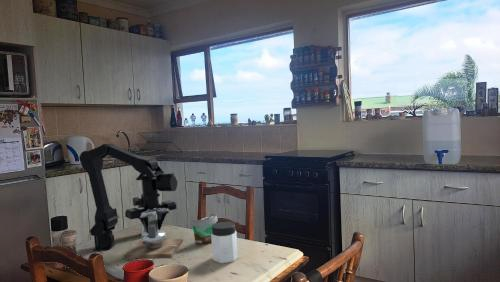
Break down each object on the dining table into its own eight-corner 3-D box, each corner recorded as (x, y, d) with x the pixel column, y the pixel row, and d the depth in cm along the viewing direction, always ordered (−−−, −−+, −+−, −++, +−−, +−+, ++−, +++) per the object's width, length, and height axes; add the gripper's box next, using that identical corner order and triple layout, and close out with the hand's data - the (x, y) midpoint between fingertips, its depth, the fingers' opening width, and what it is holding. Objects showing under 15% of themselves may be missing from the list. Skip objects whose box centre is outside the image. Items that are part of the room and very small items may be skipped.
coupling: (164, 243, 136) (163, 225, 136) (140, 246, 135) (138, 227, 135) (167, 235, 147) (166, 217, 146) (144, 237, 146) (142, 220, 145)
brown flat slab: (123, 258, 134) (122, 249, 133) (139, 243, 150) (139, 235, 149) (171, 256, 132) (171, 248, 132) (183, 241, 148) (182, 234, 148)
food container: (204, 248, 140) (202, 222, 139) (192, 245, 143) (191, 220, 143) (225, 238, 149) (223, 214, 149) (214, 236, 153) (212, 212, 153)
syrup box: (155, 230, 165) (152, 199, 164) (157, 234, 160) (155, 201, 159) (142, 233, 163) (139, 201, 162) (144, 236, 158) (141, 203, 157)
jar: (214, 265, 123) (212, 230, 122) (211, 256, 131) (209, 223, 130) (240, 261, 125) (238, 226, 124) (235, 252, 133) (233, 220, 132)
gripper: (162, 184, 152) (165, 221, 153) (118, 193, 140) (121, 233, 141) (176, 188, 143) (178, 227, 144) (129, 196, 131) (133, 239, 132)
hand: (153, 231), depth 141 cm, fingers closed on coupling, 4 cm apart
